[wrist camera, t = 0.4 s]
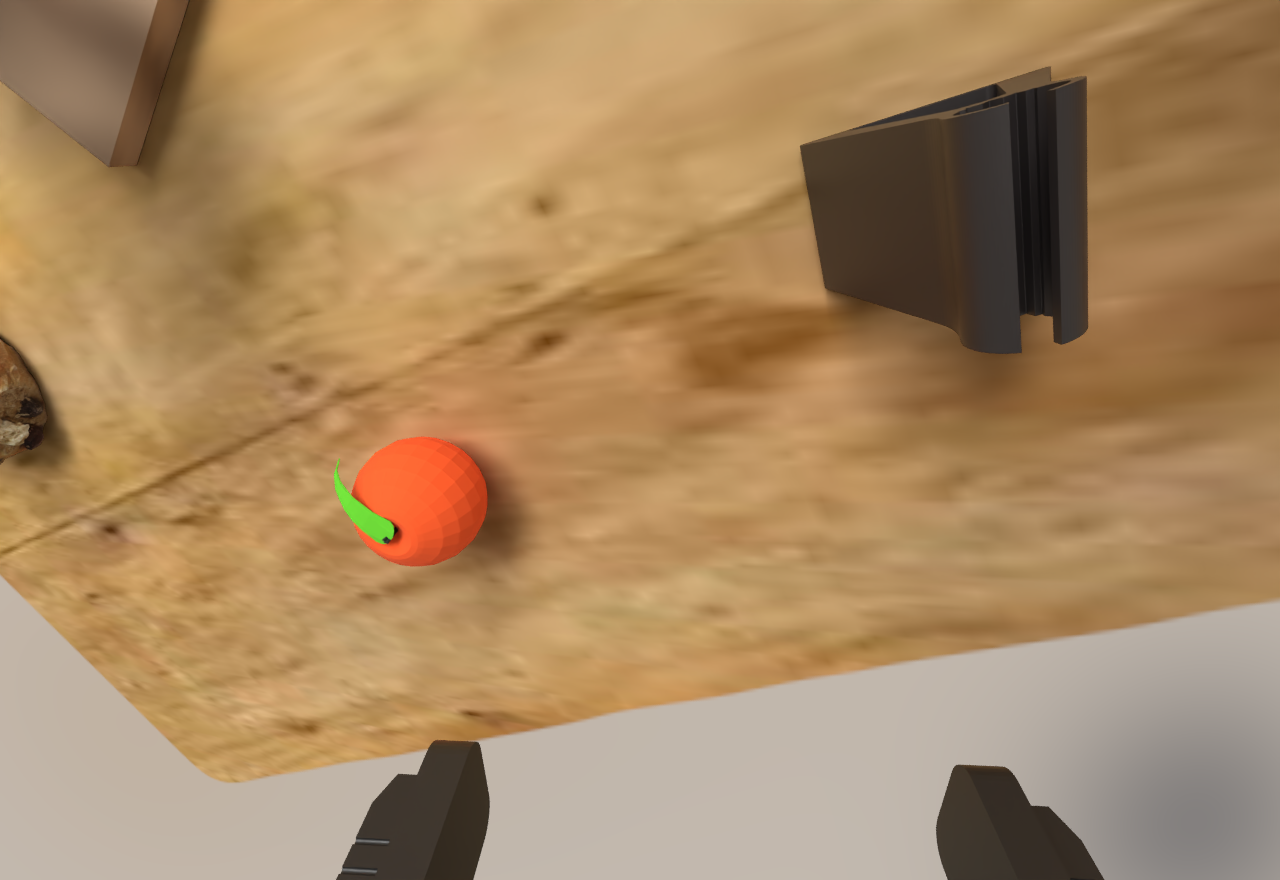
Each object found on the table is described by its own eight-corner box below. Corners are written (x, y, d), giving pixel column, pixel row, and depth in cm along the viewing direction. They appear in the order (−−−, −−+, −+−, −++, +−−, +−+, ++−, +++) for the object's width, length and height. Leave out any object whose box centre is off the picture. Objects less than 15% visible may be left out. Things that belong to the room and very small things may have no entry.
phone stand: (823, 285, 28) (858, 385, 17) (799, 143, 25) (821, 157, 15) (1050, 230, 25) (1256, 308, 14) (1047, 67, 23) (1289, 17, 12)
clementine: (362, 460, 37) (280, 528, 31) (411, 380, 34) (330, 437, 27) (471, 537, 38) (413, 618, 32) (528, 467, 35) (476, 541, 29)
